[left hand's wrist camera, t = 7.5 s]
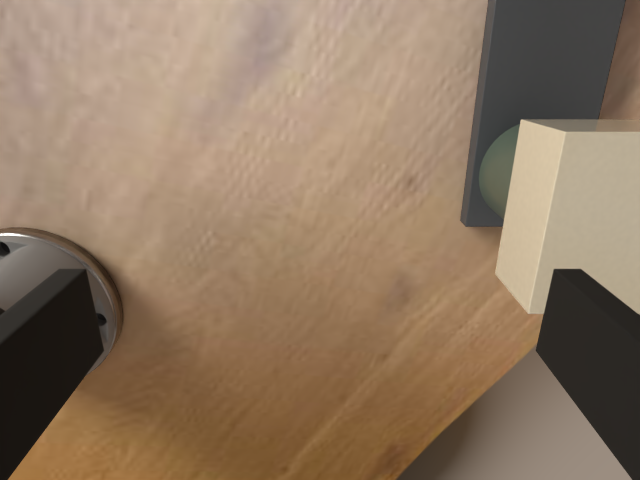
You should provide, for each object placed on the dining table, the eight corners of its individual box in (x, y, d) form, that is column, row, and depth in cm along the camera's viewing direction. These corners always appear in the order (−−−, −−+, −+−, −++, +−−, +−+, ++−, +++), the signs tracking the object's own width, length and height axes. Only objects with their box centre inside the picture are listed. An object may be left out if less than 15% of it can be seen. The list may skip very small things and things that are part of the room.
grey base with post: (564, 220, 38) (660, 282, 27) (460, 220, 38) (515, 283, 27) (662, -225, 27) (886, -411, 16) (516, -226, 27) (645, -412, 16)
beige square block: (644, 274, 29) (706, 314, 25) (494, 274, 29) (527, 314, 25) (692, 119, 26) (775, 132, 21) (520, 119, 26) (565, 131, 21)
